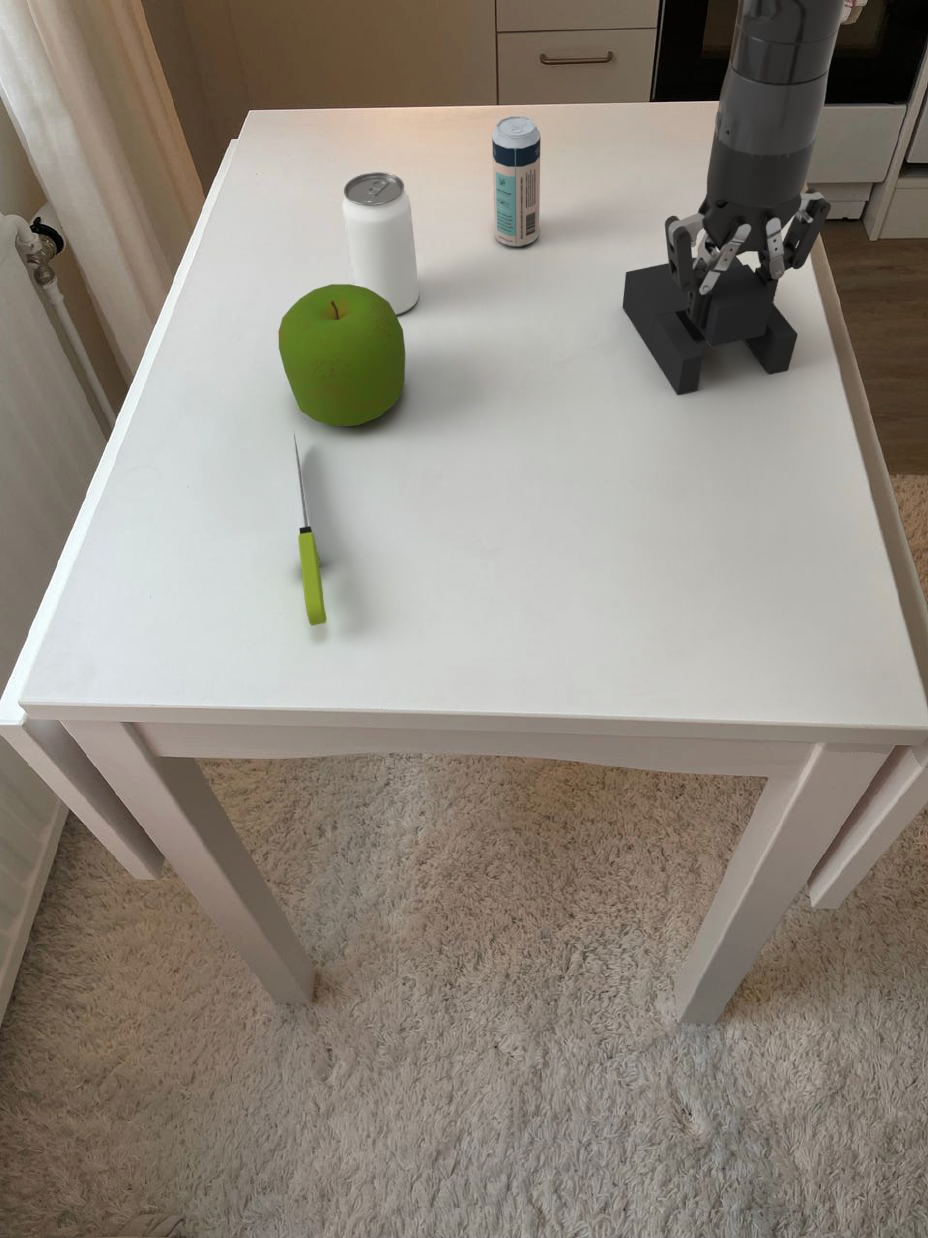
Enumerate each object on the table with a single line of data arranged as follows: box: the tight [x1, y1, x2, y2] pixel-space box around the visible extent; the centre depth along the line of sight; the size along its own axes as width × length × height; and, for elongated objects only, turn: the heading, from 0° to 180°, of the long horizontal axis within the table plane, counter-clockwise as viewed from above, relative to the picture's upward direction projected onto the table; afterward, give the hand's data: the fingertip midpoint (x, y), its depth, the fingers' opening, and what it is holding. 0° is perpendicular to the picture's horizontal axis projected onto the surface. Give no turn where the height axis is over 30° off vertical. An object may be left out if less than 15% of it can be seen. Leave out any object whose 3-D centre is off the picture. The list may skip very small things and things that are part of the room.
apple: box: [278, 283, 406, 427], centre depth 85 cm, size 11×11×11 cm
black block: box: [699, 263, 775, 348], centre depth 85 cm, size 5×5×4 cm
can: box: [341, 171, 420, 316], centre depth 93 cm, size 6×6×12 cm
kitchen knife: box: [292, 429, 327, 626], centre depth 78 cm, size 22×1×3 cm, turn 11°
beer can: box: [491, 115, 541, 248], centre depth 99 cm, size 5×5×12 cm
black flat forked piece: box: [622, 256, 798, 396], centre depth 90 cm, size 14×11×4 cm
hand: (727, 315), depth 86 cm, fingers closed on black block, 5 cm apart
